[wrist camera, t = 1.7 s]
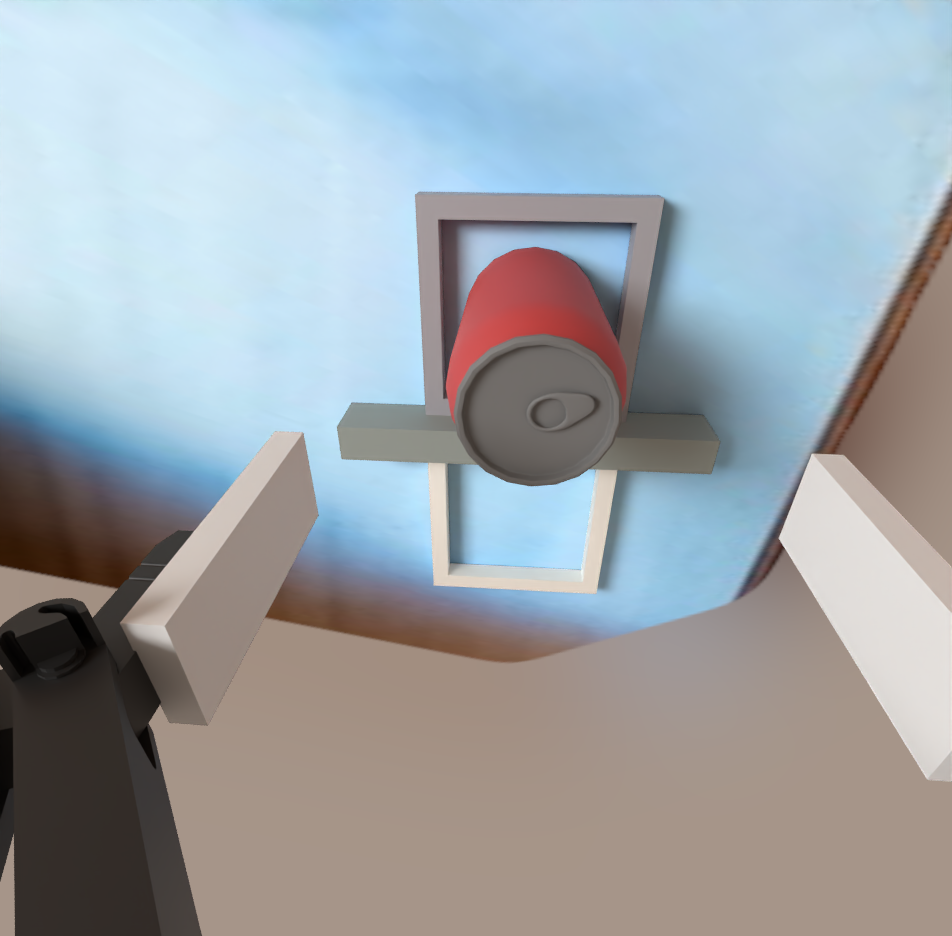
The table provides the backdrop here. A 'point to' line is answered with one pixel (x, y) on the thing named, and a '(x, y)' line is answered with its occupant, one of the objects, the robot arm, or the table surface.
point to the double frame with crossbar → (431, 426)
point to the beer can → (535, 371)
